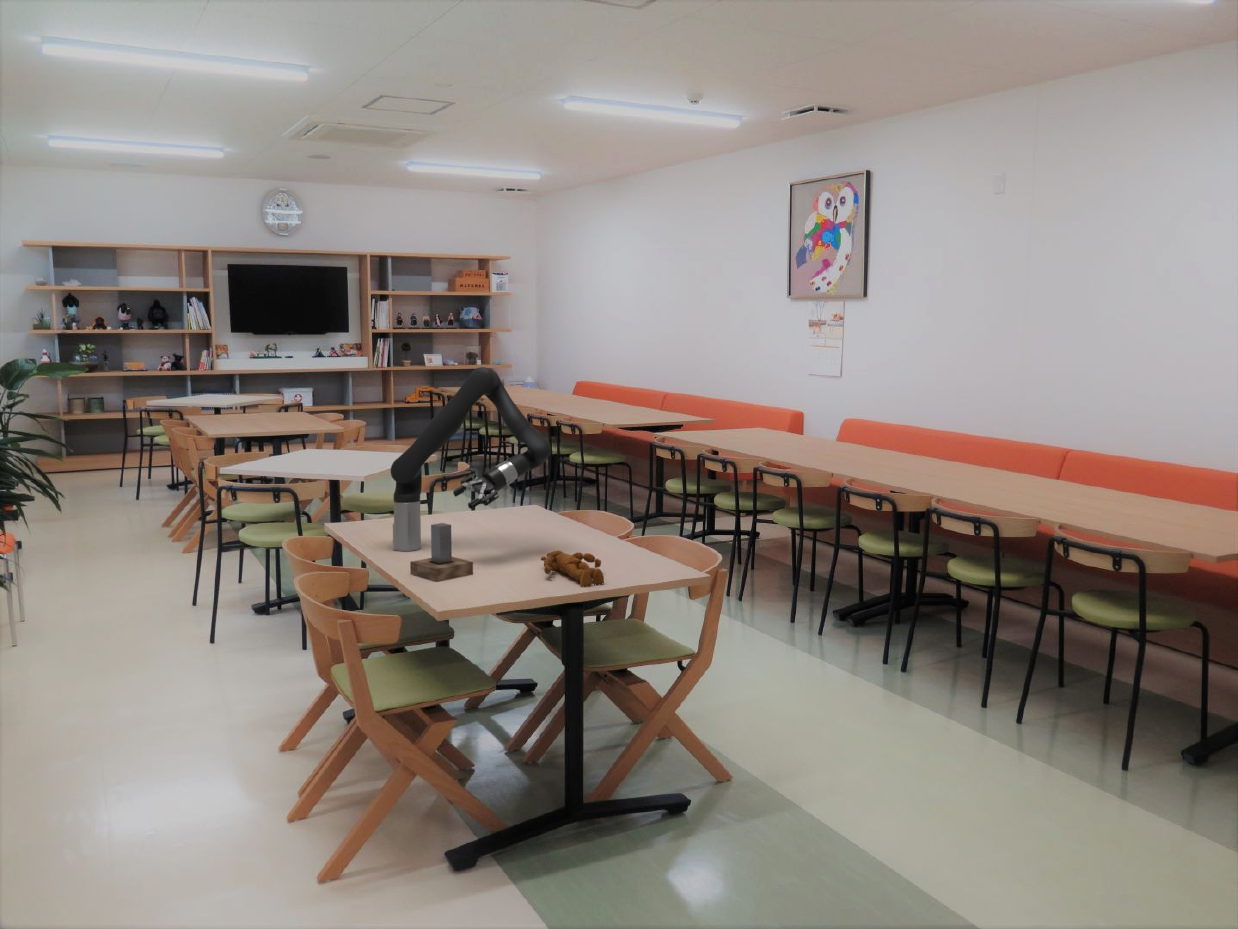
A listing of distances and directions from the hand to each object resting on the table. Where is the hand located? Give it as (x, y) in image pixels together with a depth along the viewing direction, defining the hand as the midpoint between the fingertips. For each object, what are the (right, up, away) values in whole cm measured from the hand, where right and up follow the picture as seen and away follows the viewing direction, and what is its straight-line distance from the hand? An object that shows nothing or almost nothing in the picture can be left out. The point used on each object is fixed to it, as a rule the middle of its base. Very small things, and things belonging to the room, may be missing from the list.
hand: (461, 500), depth 322 cm
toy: (+36, -24, -10) cm, 45 cm away
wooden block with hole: (-5, -23, -10) cm, 25 cm away
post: (-5, -23, -10) cm, 25 cm away
